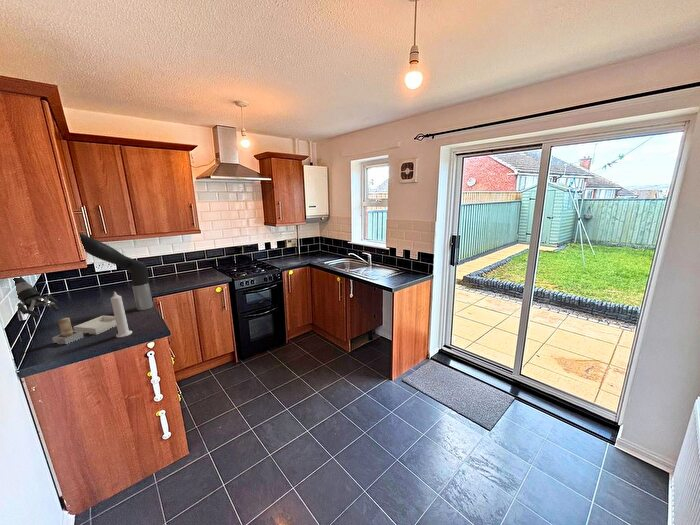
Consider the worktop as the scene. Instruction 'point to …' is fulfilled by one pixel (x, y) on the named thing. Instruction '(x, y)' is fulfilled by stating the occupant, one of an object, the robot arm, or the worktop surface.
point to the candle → (120, 316)
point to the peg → (65, 327)
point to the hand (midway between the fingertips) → (47, 313)
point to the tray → (97, 325)
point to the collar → (68, 338)
